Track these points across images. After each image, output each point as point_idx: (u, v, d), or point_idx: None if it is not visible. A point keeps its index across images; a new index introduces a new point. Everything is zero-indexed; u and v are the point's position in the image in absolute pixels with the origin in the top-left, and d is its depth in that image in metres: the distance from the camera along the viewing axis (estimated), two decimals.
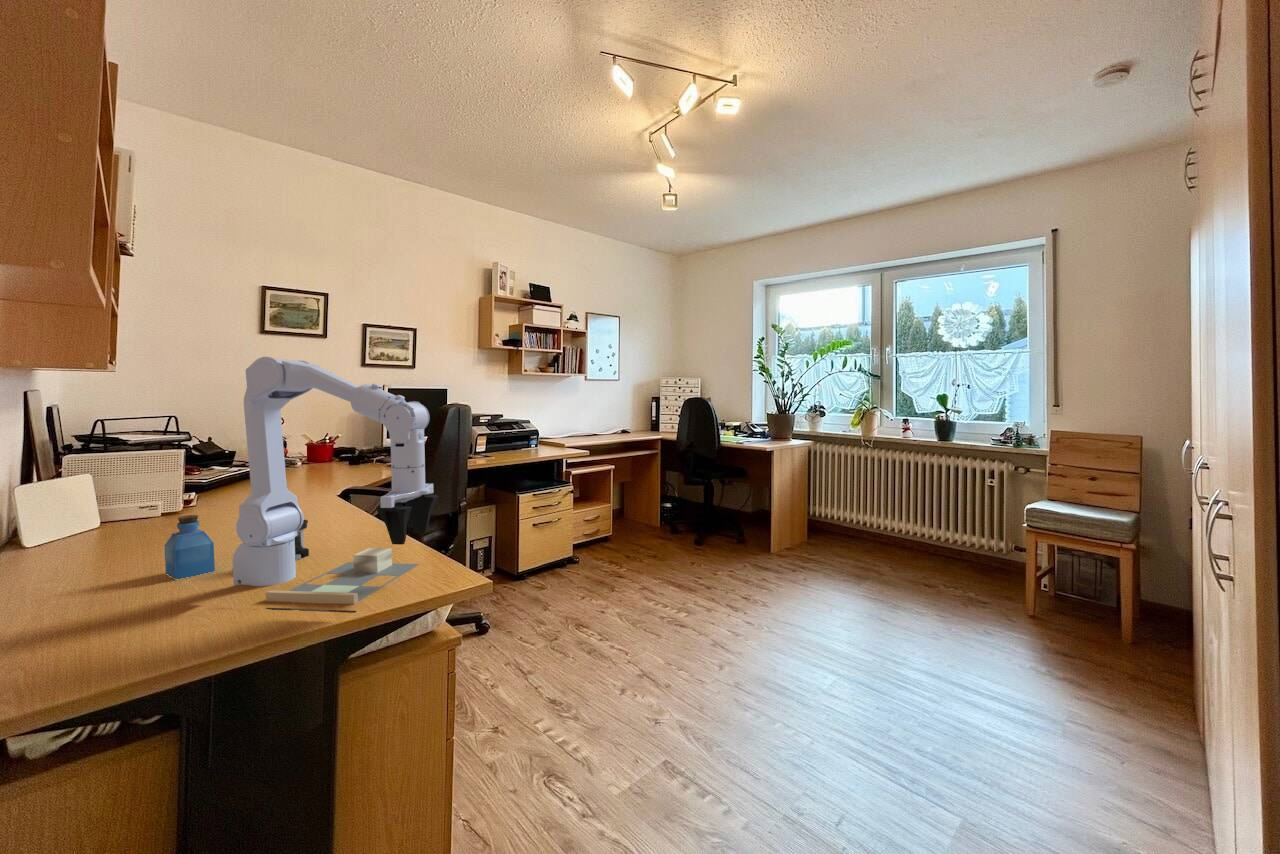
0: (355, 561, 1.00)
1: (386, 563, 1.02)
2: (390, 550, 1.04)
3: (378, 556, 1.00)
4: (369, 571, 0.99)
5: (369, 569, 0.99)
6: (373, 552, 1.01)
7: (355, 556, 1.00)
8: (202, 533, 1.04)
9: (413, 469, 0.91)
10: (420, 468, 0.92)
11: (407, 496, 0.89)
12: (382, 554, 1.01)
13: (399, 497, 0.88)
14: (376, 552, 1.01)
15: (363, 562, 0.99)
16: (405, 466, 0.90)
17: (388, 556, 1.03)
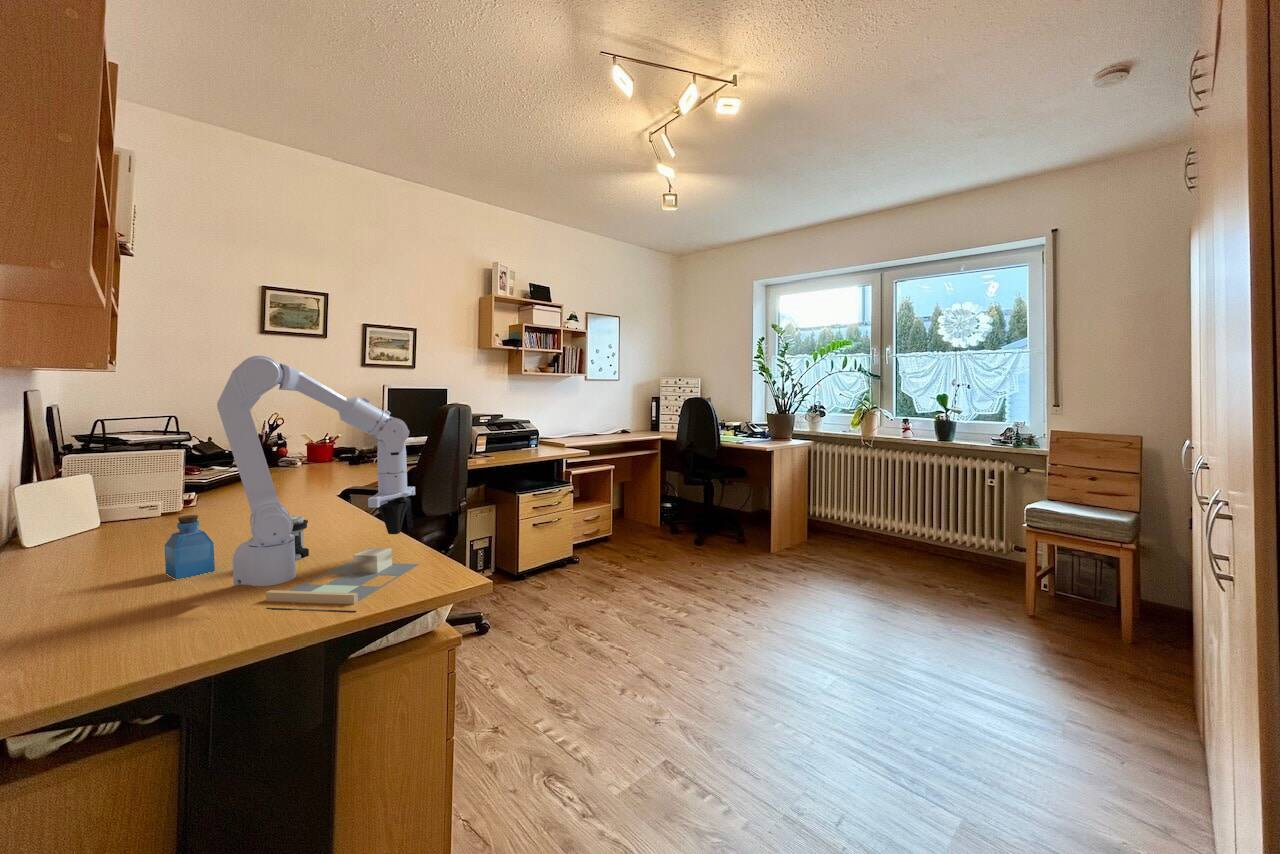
0: (355, 561, 1.00)
1: (386, 563, 1.02)
2: (390, 550, 1.04)
3: (378, 556, 1.00)
4: (369, 571, 0.99)
5: (369, 569, 0.99)
6: (373, 552, 1.01)
7: (355, 556, 1.00)
8: (202, 533, 1.04)
9: (396, 474, 1.07)
10: (402, 473, 1.08)
11: (391, 497, 1.05)
12: (382, 554, 1.01)
13: (384, 498, 1.03)
14: (376, 552, 1.01)
15: (363, 562, 0.99)
16: (400, 471, 1.07)
17: (388, 556, 1.03)
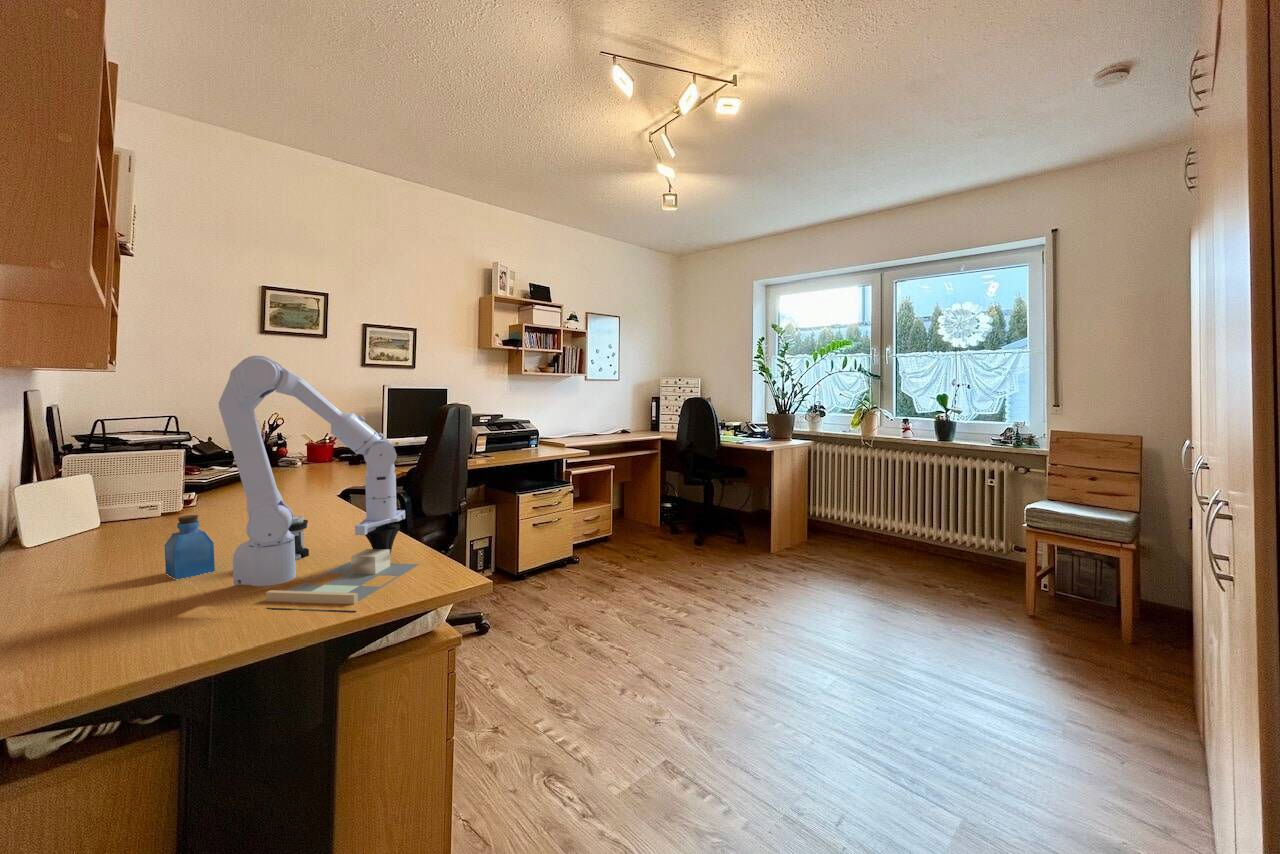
0: (353, 562, 0.99)
1: (384, 565, 1.02)
2: (388, 551, 1.03)
3: (376, 557, 0.99)
4: (367, 572, 0.99)
5: (367, 570, 0.99)
6: (371, 553, 1.01)
7: (353, 557, 0.99)
8: (202, 533, 1.04)
9: (385, 499, 1.03)
10: (391, 498, 1.04)
11: (379, 524, 1.01)
12: (380, 555, 1.00)
13: (372, 525, 0.99)
14: (374, 553, 1.01)
15: (361, 564, 0.99)
16: (386, 496, 1.03)
17: (386, 557, 1.02)
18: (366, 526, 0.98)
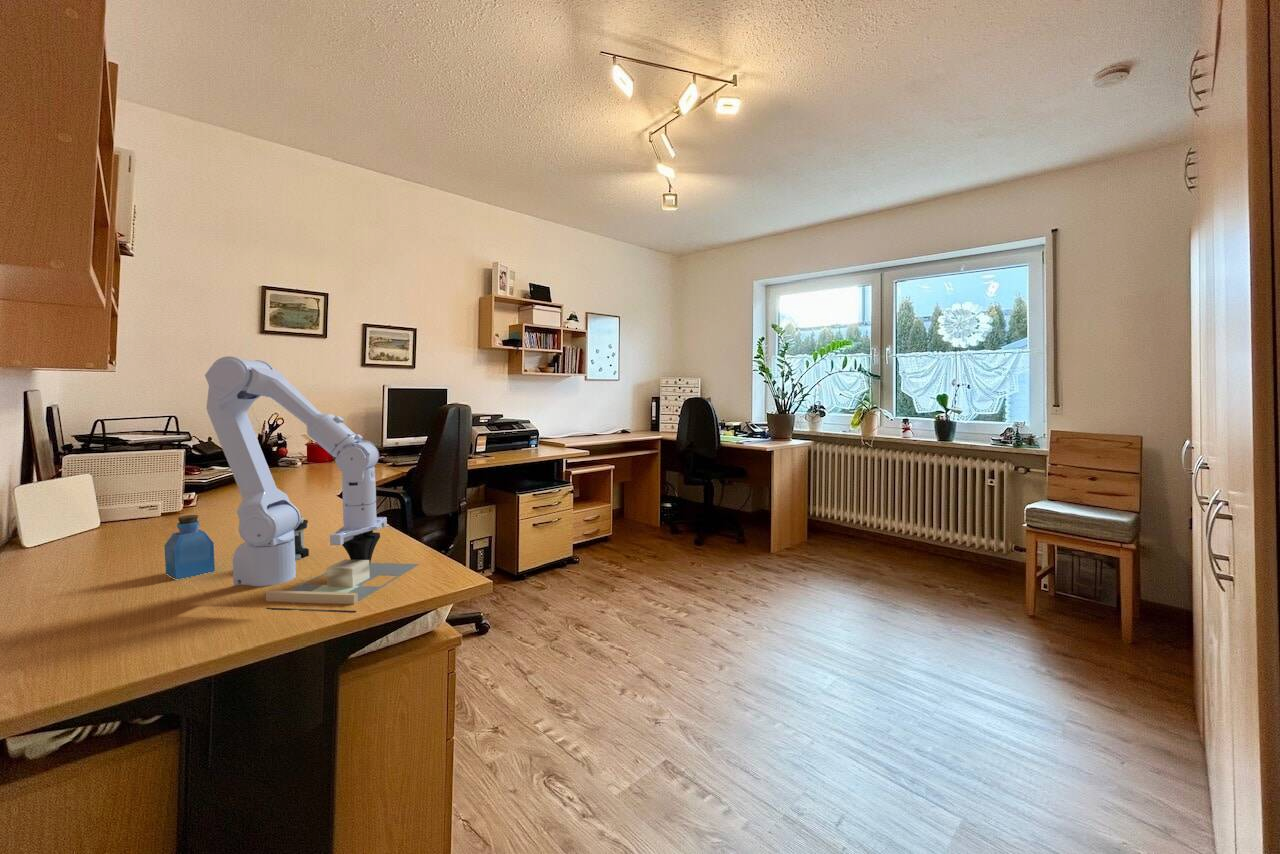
0: (329, 574, 0.92)
1: (363, 576, 0.95)
2: (367, 562, 0.96)
3: (353, 569, 0.92)
4: (344, 585, 0.92)
5: (344, 583, 0.92)
6: (348, 564, 0.94)
7: (328, 569, 0.92)
8: (202, 533, 1.04)
9: (363, 506, 0.96)
10: (370, 505, 0.97)
11: (357, 533, 0.94)
12: (358, 566, 0.93)
13: (348, 534, 0.92)
14: (352, 564, 0.94)
15: (337, 576, 0.92)
16: (359, 504, 0.95)
17: (365, 568, 0.95)
18: (342, 535, 0.91)
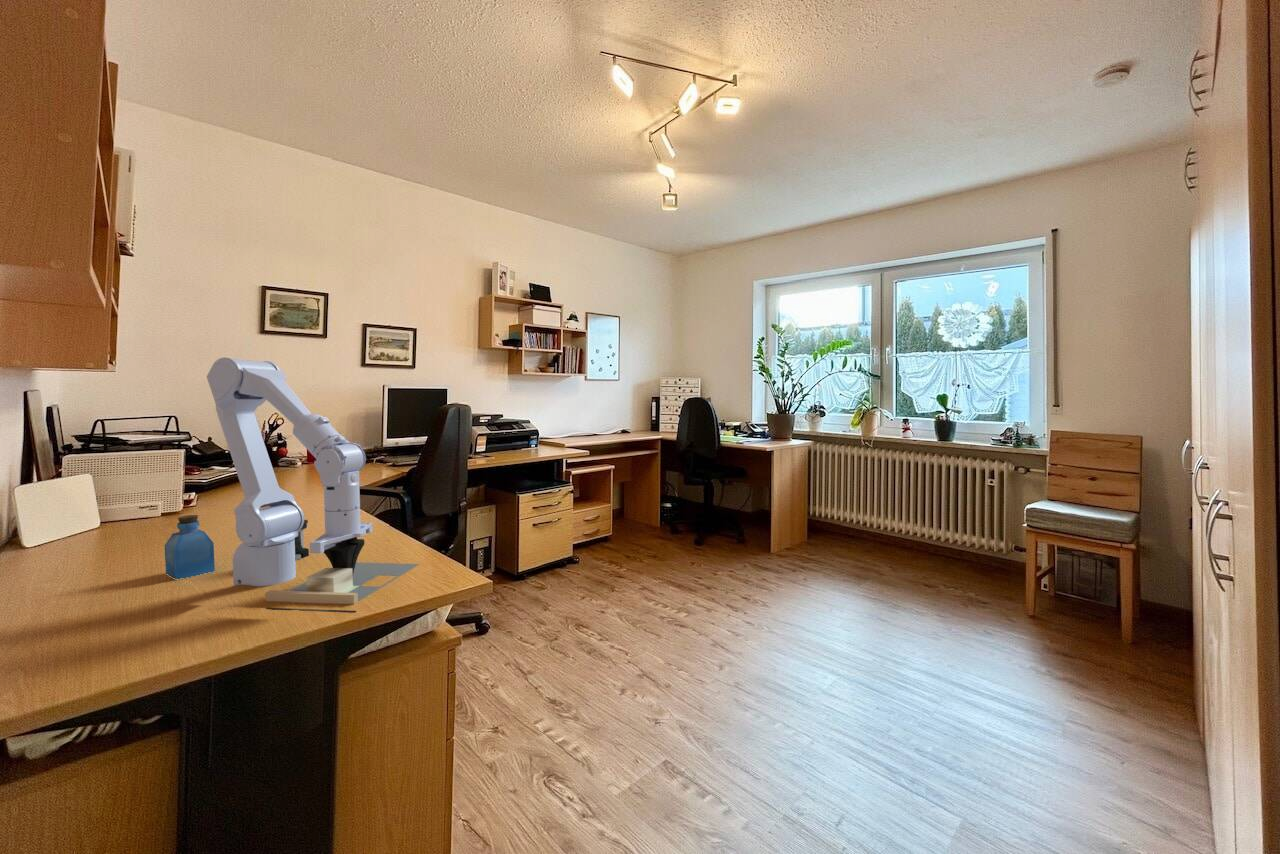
0: (309, 584, 0.87)
1: (345, 586, 0.90)
2: (350, 570, 0.91)
3: (335, 578, 0.87)
4: None
5: None
6: (330, 573, 0.89)
7: (308, 578, 0.87)
8: (202, 533, 1.04)
9: (346, 512, 0.91)
10: (354, 510, 0.92)
11: (339, 540, 0.89)
12: (340, 576, 0.88)
13: (330, 542, 0.88)
14: (333, 573, 0.89)
15: (318, 586, 0.87)
16: (336, 509, 0.90)
17: (348, 577, 0.90)
18: (322, 543, 0.86)
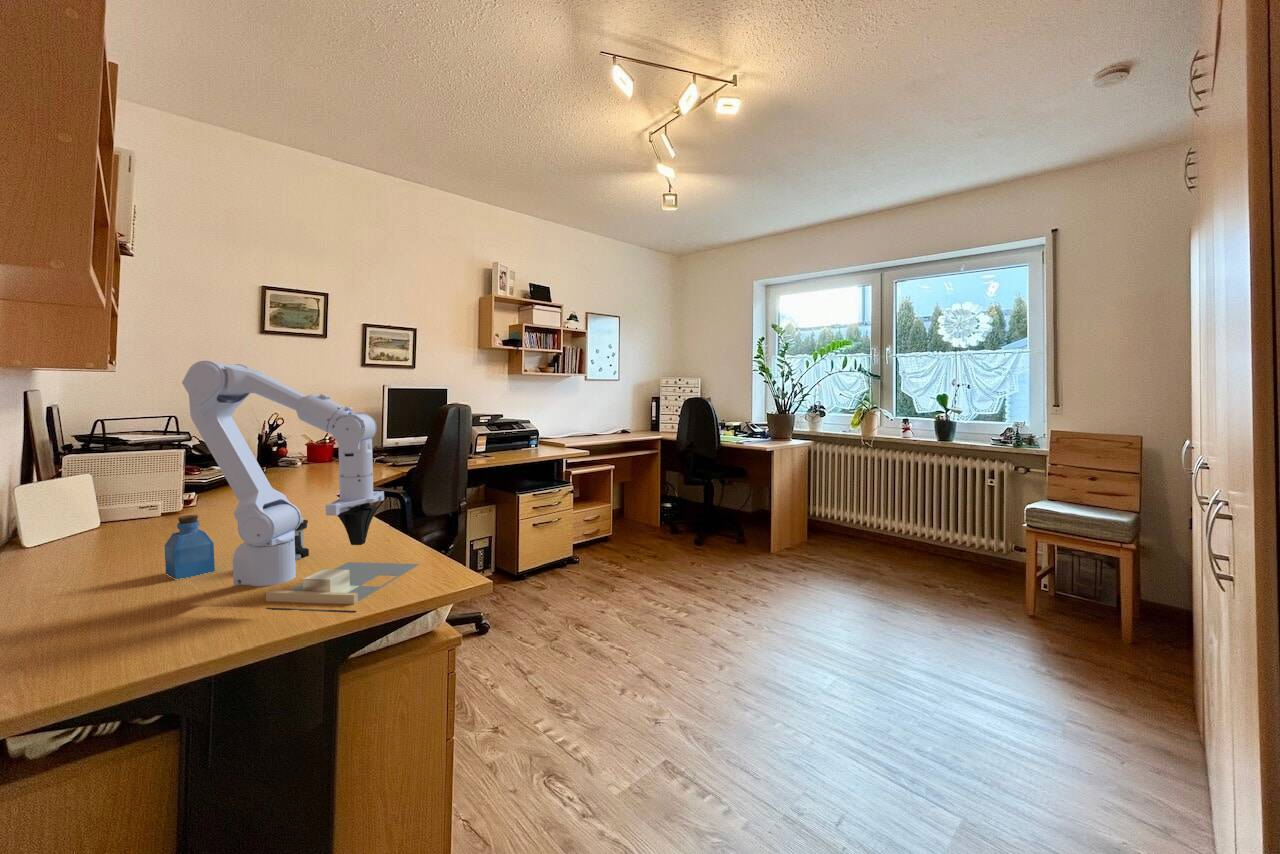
0: (305, 586, 0.86)
1: (342, 588, 0.89)
2: (347, 572, 0.90)
3: (331, 580, 0.86)
4: None
5: None
6: (327, 575, 0.88)
7: (305, 580, 0.86)
8: (202, 533, 1.04)
9: (360, 478, 0.95)
10: (367, 477, 0.96)
11: (353, 504, 0.93)
12: (337, 577, 0.88)
13: (344, 505, 0.91)
14: (330, 575, 0.88)
15: (314, 587, 0.86)
16: (355, 475, 0.94)
17: (345, 579, 0.90)
18: (338, 506, 0.90)
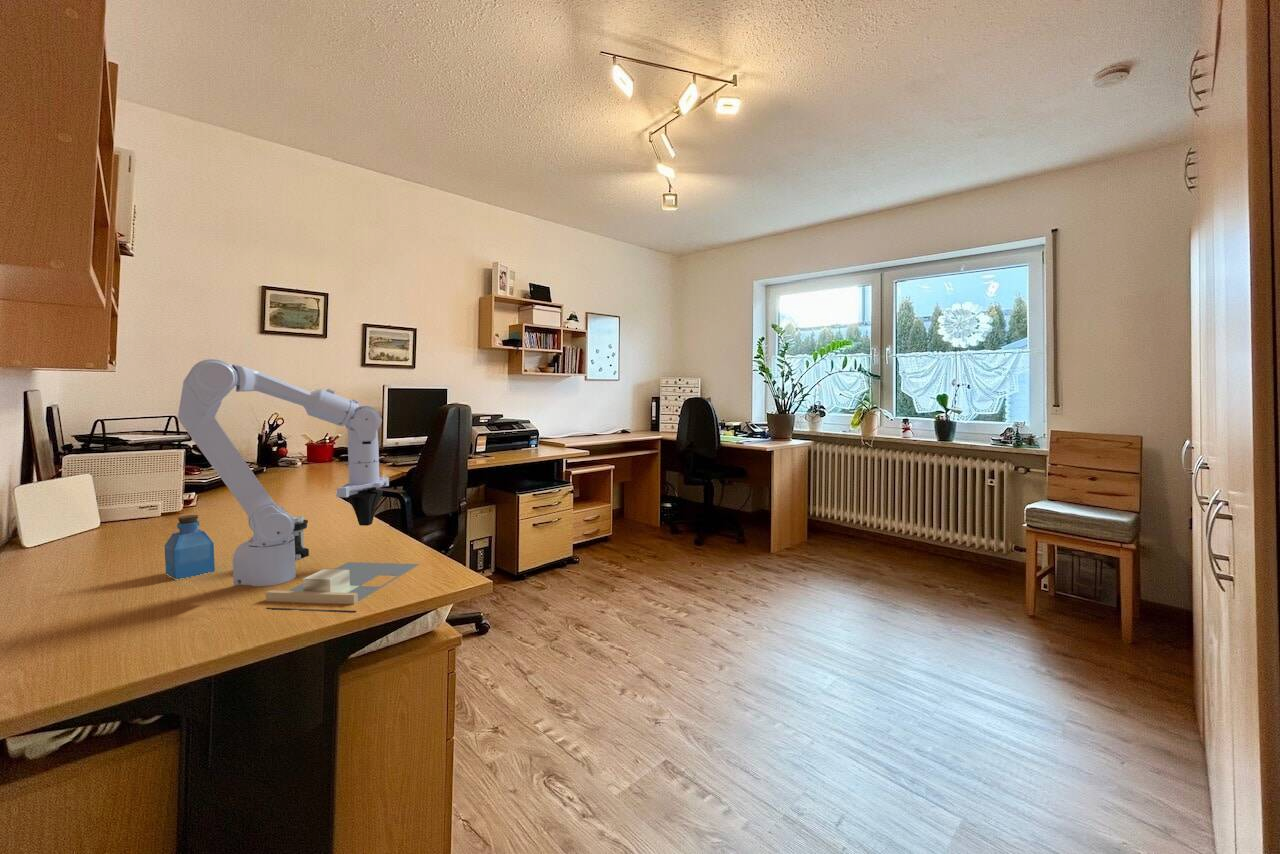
0: (305, 586, 0.86)
1: (342, 588, 0.89)
2: (347, 572, 0.90)
3: (331, 580, 0.86)
4: None
5: None
6: (327, 575, 0.88)
7: (305, 580, 0.86)
8: (202, 533, 1.04)
9: (367, 464, 1.04)
10: (374, 463, 1.05)
11: (361, 487, 1.02)
12: (337, 577, 0.88)
13: (353, 488, 1.01)
14: (330, 575, 0.88)
15: (314, 587, 0.86)
16: (372, 460, 1.05)
17: (345, 579, 0.90)
18: (348, 488, 0.99)
